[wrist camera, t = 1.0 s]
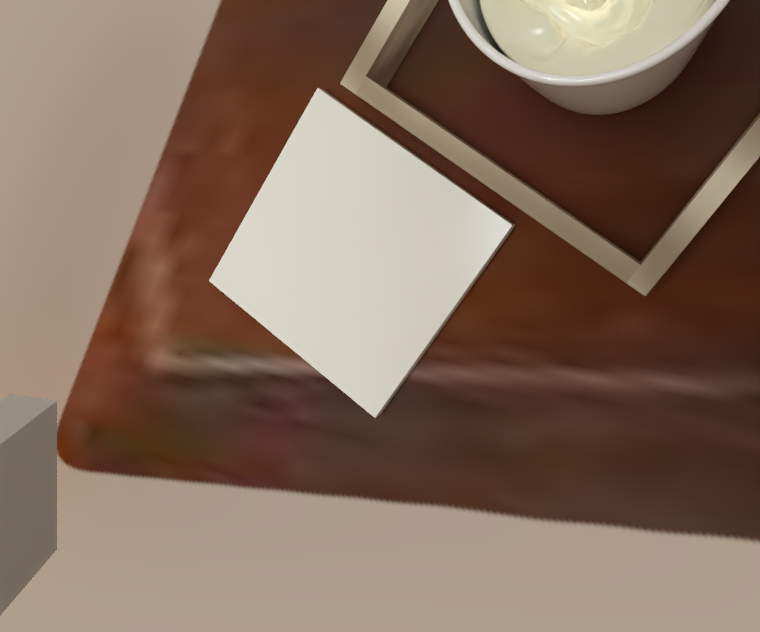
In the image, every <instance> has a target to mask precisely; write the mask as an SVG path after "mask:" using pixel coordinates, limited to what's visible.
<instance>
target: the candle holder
mask: <svg viewBox="0 0 760 632" xmlns="http://www.w3.org/2000/svg"><path fill="white" fill-rule="evenodd" d="M448 1H449V4H450V6H451V8H452V11H453V13H454V15H455V17H456V19H457V20H458V22H459V24H460V26H461V27H462V29H463V30H464V32H465V33H466V34H467V36H468V37H469V38H470V40H471V41H472V42H473V43H474V44H475V45H476V46H477V47H478V48H479V49H480V50H481V51H482V52H483V53H484V54H485V55H486V56H487V57H489V58H490V59H491V60H492V61H494V62H495V63H497V64H498V65H500V66H501V67H503V68H504V69H506V70H508V71H510V72H512V73H513V74H514V75H516V76H517V77H518V78H519V79H521V80H522V81H523V82H525V83H526V84H527V85H528V86H530V87H531V88H532V89H534V90H535V91H536V92H538V93H539V94H540V95H542V96H543V97H544V98H546V99H547V100H549V101H550V102H552V103H554V104H555V105H557V106H559V107H561V108H564V109H566V110H569V111H572V112H576V113H580V114H586V115H608V114H615V113H620V112H623V111H627V110H630V109H633V108H635V107H637V106H640V105H642V104H644V103H646V102H647V101H649V100H651V99H652V98H654V97H655V96H657V95H658V94H660V93H661V92H662V91H663V90H665V89H666V88H667V87H668V86H669V85H670V84H671V83H672V82H673V81H674V80H675V79H676V78H677V77H678V76H679V75H680V73H681V72H682V71H683V70H684V68H685V67H686V66H687V64H688V63H689V61H690V60H691V58H692V57H693V55H694V54H695V52H696V51H697V49H698V47H699V46H700V44H701V43H702V41H703V39H704V38H705V36H706V34H707V33H708V31H709V30H710V28H711V26H712V25H713V23H714V21H715V20H716V18H717V17H718V15H719V14H720V13H721V11H722V10H723V9H724V8H725V6H726V5H727V4H728V2H729V1H730V0H448Z"/></svg>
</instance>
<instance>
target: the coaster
mask: <svg viewBox="0 0 760 632" xmlns="http://www.w3.org/2000/svg"><path fill="white" fill-rule="evenodd" d="M515 226H516V225H515V224H513V223H512V222H511V221H509V220H508V219H506V218H505V217H503V216H502V215H501V214H499V213H498V212H496V211H495V210H494V209H492V208H491V207H489V206H488V205H486V204H485V203H484V202H482V201H481V200H479V199H478V198H477V197H475V196H474V195H472V194H471V193H469V192H468V191H467V190H465V189H464V188H462V187H461V186H459V185H458V184H457V183H455V182H454V181H452V180H451V179H450V178H448V177H447V176H445V175H444V174H442V173H441V172H440V171H438V170H437V169H435V168H434V167H433V166H431V165H430V164H428V163H427V162H425V161H424V160H423V159H421V158H420V157H418V156H417V155H416V154H414V153H413V152H411V151H410V150H408V149H407V148H406V147H404V146H403V145H401V144H400V143H399V142H397V141H396V140H394V139H393V138H391V137H390V136H389V135H387V134H386V133H384V132H383V131H381V130H380V129H379V128H377V127H376V126H374V125H373V124H372V123H370V122H369V121H367V120H366V119H364V118H363V117H362V116H360V115H359V114H357V113H356V112H355V111H353V110H352V109H350V108H349V107H347V106H346V105H345V104H343V103H342V102H340V101H339V100H338V99H336V98H335V97H333V96H332V95H330V94H329V93H328V92H326V91H324V90H322V89H320V88H317V90H316V92H315V93H314V95H313V97H312V99H311V101H310V102H309V104H308V106H307V108H306V109H305V111H304V113H303V115H302V117H301V118H300V120H299V122H298V124H297V125H296V127H295V129H294V131H293V132H292V134H291V136H290V138H289V140H288V141H287V143H286V145H285V147H284V148H283V150H282V152H281V154H280V156H279V157H278V159H277V161H276V163H275V164H274V166H273V168H272V170H271V172H270V173H269V175H268V177H267V179H266V180H265V182H264V184H263V186H262V188H261V189H260V191H259V193H258V195H257V196H256V198H255V200H254V202H253V204H252V205H251V207H250V209H249V211H248V212H247V214H246V216H245V218H244V220H243V221H242V223H241V225H240V227H239V228H238V230H237V232H236V234H235V235H234V237H233V239H232V241H231V243H230V244H229V246H228V248H227V250H226V251H225V253H224V255H223V257H222V259H221V260H220V262H219V264H218V266H217V267H216V269H215V271H214V273H213V275H212V276H211V278H210V280H209V281H210V282H211V283H212V284H213V285H215V286H216V287H217V288H218V289H219V290H221V291H222V292H223V293H224V294H225V295H227V296H228V297H229V298H230V299H232V300H233V301H234V302H235V303H236V304H238V305H239V306H240V307H241V308H242V309H244V310H245V311H246V312H247V313H248V314H250V315H251V316H252V317H253V318H255V319H256V320H257V321H258V322H259V323H261V324H262V325H263V326H264V327H265V328H267V329H268V330H269V331H270V332H271V333H273V334H274V335H275V336H276V337H278V338H279V339H280V340H281V341H282V342H284V343H285V344H286V345H287V346H288V347H290V348H291V349H292V350H293V351H294V352H296V353H297V354H298V355H299V356H301V357H302V358H303V359H304V360H305V361H307V362H308V363H309V364H310V365H311V366H313V367H314V368H315V369H316V370H317V371H319V372H320V373H321V374H322V375H324V376H325V377H326V378H327V379H328V380H330V381H331V382H332V383H333V384H334V385H336V386H337V387H338V388H339V389H341V390H342V391H343V392H344V393H345V394H347V395H348V396H349V397H350V398H351V399H353V400H354V401H355V402H356V403H357V404H359V405H360V406H361V407H362V408H364V409H365V410H366V411H367V412H368V413H370V414H371V415H372V416H373V417H374V418H376V417H377V416H378V415H380V414H381V413H382V412H383V410H384V409H385V408H386V406H387V405H388V403H389V402H390V401H391V399H392V398H393V396H394V395H395V394H396V392H397V391H398V389H399V388H400V387H401V385H402V384H403V382H404V381H405V380H406V378H407V377H408V375H409V374H410V373H411V371H412V370H413V368H414V367H415V366H416V364H417V363H418V361H419V360H420V359H421V357H422V356H423V354H424V353H425V352H426V350H427V349H428V347H429V346H430V345H431V343H432V342H433V340H434V339H435V338H436V336H437V335H438V333H439V332H440V331H441V329H442V328H443V326H444V325H445V324H446V322H447V321H448V319H449V318H450V317H451V315H452V314H453V312H454V311H455V310H456V308H457V307H458V305H459V304H460V303H461V301H462V300H463V298H464V297H465V296H466V294H467V293H468V291H469V290H470V289H471V287H472V286H473V284H474V283H475V282H476V280H477V279H478V277H479V276H480V275H481V273H482V272H483V270H484V269H485V268H486V266H487V265H488V263H489V262H490V261H491V259H492V258H493V256H494V255H495V254H496V252H497V251H498V249H499V248H500V247H501V245H502V244H503V242H504V241H505V240H506V238H507V237H508V235H509V234H510V233H511V231H512V230H513V228H514V227H515Z"/></svg>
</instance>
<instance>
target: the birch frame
mask: <svg viewBox="0 0 760 632" xmlns="http://www.w3.org/2000/svg"><path fill="white" fill-rule="evenodd" d="M438 1H439V0H388V1H387V2H386V4H385V6H384V8H383V9H382V11H381V13H380V15H379V16H378V18H377V20H376V22H375V23H374V25H373V27H372V29H371V30H370V32H369V34H368V36H367V37H366V39H365V41H364V43H363V44H362V46H361V48H360V49H359V51H358V53H357V55H356V56H355V58H354V60H353V62H352V63H351V65H350V67H349V69H348V70H347V72H346V74H345V76H344V77H343V79H342V81H341V83H340V84H342V85H343V86H344V87H346V88H347V89H349V90H350V91H352V92H353V93H354V94H356V95H357V96H359V97H360V98H362V99H363V100H365V101H366V102H367V103H369V104H370V105H372V106H373V107H375V108H376V109H377V110H379V111H380V112H382V113H383V114H385V115H386V116H387V117H389V118H390V119H392V120H393V121H395V122H396V123H397V124H399V125H400V126H402V127H403V128H405V129H406V130H408V131H409V132H410V133H412V134H413V135H415V136H416V137H418V138H419V139H420V140H422V141H423V142H425V143H426V144H428V145H429V146H430V147H432V148H433V149H435V150H436V151H438V152H439V153H440V154H442V155H443V156H445V157H446V158H448V159H449V160H451V161H452V162H453V163H455V164H456V165H458V166H459V167H461V168H462V169H463V170H465V171H466V172H468V173H469V174H471V175H472V176H473V177H475V178H476V179H478V180H479V181H481V182H482V183H483V184H485V185H486V186H488V187H489V188H491V189H492V190H494V191H495V192H496V193H498V194H499V195H501V196H502V197H504V198H505V199H506V200H508V201H509V202H511V203H512V204H514V205H515V206H516V207H518V208H519V209H521V210H522V211H524V212H525V213H526V214H528V215H529V216H531V217H532V218H534V219H535V220H537V221H538V222H539V223H541V224H542V225H544V226H545V227H547V228H548V229H549V230H551V231H552V232H554V233H555V234H557V235H558V236H559V237H561V238H562V239H564V240H565V241H567V242H568V243H569V244H571V245H572V246H574V247H575V248H577V249H578V250H579V251H581V252H582V253H584V254H585V255H587V256H588V257H590V258H591V259H592V260H594V261H595V262H597V263H598V264H600V265H601V266H602V267H604V268H605V269H607V270H608V271H610V272H611V273H612V274H614V275H615V276H617V277H618V278H620V279H621V280H622V281H624V282H625V283H627V284H628V285H630V286H631V287H633V288H634V289H635V290H637V291H638V292H640V293H641V294H643V295H644V296H646V295H647V294H648V292H649V291H650V290H651V289H652V288H653V286H654V285H655V284H656V283H657V281H658V280H659V279H660V278H661V277H662V275H663V274H664V273H665V272H666V270H667V269H668V268H669V267H670V266H671V264H672V263H673V262H674V261H675V259H676V258H677V257H678V256H679V255H680V253H681V252H682V251H683V250H684V248H685V247H686V246H687V245H688V244H689V242H690V241H691V240H692V239H693V237H694V236H695V235H696V234H697V233H698V231H699V230H700V229H701V228H702V226H703V225H704V224H705V223H706V222H707V220H708V219H709V218H710V217H711V215H712V214H713V213H714V212H715V211H716V209H717V208H718V207H719V206H720V204H721V203H722V202H723V201H724V200H725V198H726V197H727V196H728V195H729V193H730V192H731V191H732V190H733V189H734V187H735V186H736V185H737V184H738V182H739V181H740V180H741V179H742V178H743V176H744V175H745V174H746V173H747V171H748V170H749V169H750V168H751V167H752V165H753V164H754V163H755V162H756V160H757V159H758V158H759V157H760V113H759V114H758V115H757V117H756V118H755V119H754V120H753V122H752V123H751V124H750V125H749V127H748V128H747V129H746V130H745V132H744V133H743V134H742V135H741V137H740V138H739V139H738V140H737V142H736V143H735V144H734V145H733V147H732V148H731V149H730V150H729V152H728V153H727V154H726V155H725V157H724V158H723V159H722V160H721V162H720V163H719V164H718V165H717V167H716V168H715V169H714V170H713V172H712V173H711V174H710V175H709V177H708V178H707V179H706V180H705V182H704V183H703V184H702V185H701V187H700V188H699V189H698V190H697V192H696V193H695V194H694V195H693V197H692V198H691V199H690V200H689V202H688V203H687V204H686V205H685V207H684V208H683V209H682V210H681V212H680V213H679V214H678V215H677V217H676V218H675V219H674V220H673V222H672V223H671V224H670V225H669V227H668V228H667V229H666V231H665V232H664V233H663V234H662V236H661V237H660V238H659V239H658V241H657V242H656V243H655V244H654V246H653V247H652V248H651V249H650V251H649V252H648V253H647V254H646V256H645V257H644V258H643V259H642V261H641V262H640V261H639V260H637V259H636V258H634V257H633V256H631V255H630V254H628V253H627V252H626V251H624V250H623V249H621V248H620V247H618V246H617V245H615V244H614V243H612V242H611V241H609V240H608V239H607V238H605V237H604V236H602V235H601V234H599V233H598V232H596V231H595V230H593V229H592V228H591V227H589V226H588V225H586V224H585V223H583V222H582V221H580V220H579V219H577V218H576V217H575V216H573V215H572V214H570V213H569V212H567V211H566V210H564V209H563V208H561V207H560V206H558V205H557V204H556V203H554V202H553V201H551V200H550V199H548V198H547V197H545V196H544V195H542V194H541V193H540V192H538V191H537V190H535V189H534V188H532V187H531V186H529V185H528V184H526V183H525V182H524V181H522V180H521V179H519V178H518V177H516V176H515V175H513V174H512V173H510V172H509V171H507V170H506V169H505V168H503V167H502V166H500V165H499V164H497V163H496V162H494V161H493V160H491V159H490V158H489V157H487V156H486V155H484V154H483V153H481V152H480V151H478V150H477V149H475V148H474V147H472V146H471V145H470V144H468V143H467V142H465V141H464V140H462V139H461V138H459V137H458V136H456V135H455V134H454V133H452V132H451V131H449V130H448V129H446V128H445V127H443V126H442V125H440V124H439V123H438V122H436V121H435V120H433V119H432V118H430V117H429V116H427V115H426V114H424V113H423V112H421V111H420V110H419V109H417V108H416V107H414V106H413V105H411V104H410V103H408V102H407V101H405V100H404V99H403V98H401V97H400V96H398V95H397V94H395V93H394V92H392V91H391V90H389V89H388V88H387V86H388V84H389V83H390V81H391V79H392V78H393V76H394V74H395V73H396V71H397V69H398V68H399V66H400V64H401V63H402V61H403V59H404V58H405V56H406V54H407V53H408V51H409V49H410V48H411V46H412V44H413V42H414V41H415V39H416V37H417V36H418V34H419V32H420V31H421V29H422V27H423V26H424V24H425V22H426V21H427V19H428V17H429V16H430V14H431V12H432V11H433V9H434V7H435V6H436V4H437V2H438Z"/></svg>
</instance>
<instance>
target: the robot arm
mask: <svg viewBox="0 0 760 632" xmlns="http://www.w3.org/2000/svg"><path fill="white" fill-rule="evenodd" d="M56 550H57V401H54V400H48V399H41V398H34V397H28V396H21V395H15V394H8V395H7V396H5V397H4V398H2V399H1V400H0V615H1V614H2V613H3V612H4V610H5V609H6V608H7V607H8V606H9V604H10V603H11V602H12V601H13V600H14V599H15V598H16V596H17V595H18V594H19V593H20V592H21V591H22V589H23V588H24V587H25V586H26V585H27V584H28V582H29V581H30V580H31V579H32V577H34V575H35V574H36V573H37V572H38V571H39V570H40V568H41V567H42V566H43V565H44V564H45V562H46V561H47V560H48V559H49V558H50V556H51V555H52V554H53V553H54V552H55V551H56Z"/></svg>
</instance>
